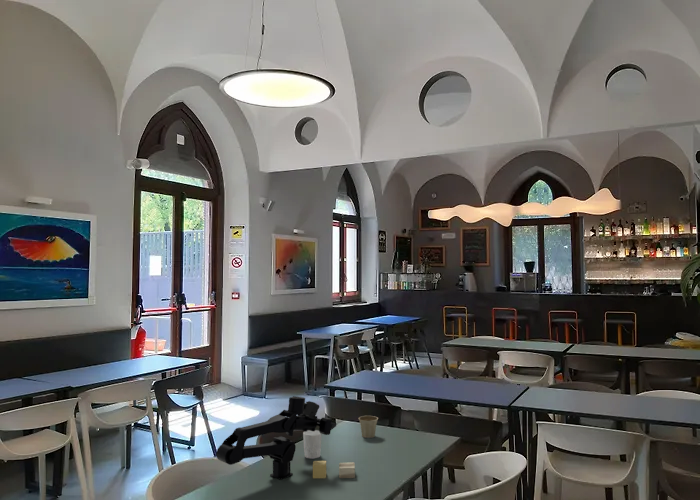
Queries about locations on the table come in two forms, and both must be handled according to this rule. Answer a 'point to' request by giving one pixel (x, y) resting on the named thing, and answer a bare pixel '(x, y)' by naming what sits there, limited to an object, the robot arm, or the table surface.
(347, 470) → the birch base block
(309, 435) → the white cup
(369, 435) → the flower pot
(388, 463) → the table surface
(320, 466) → the ochre block
